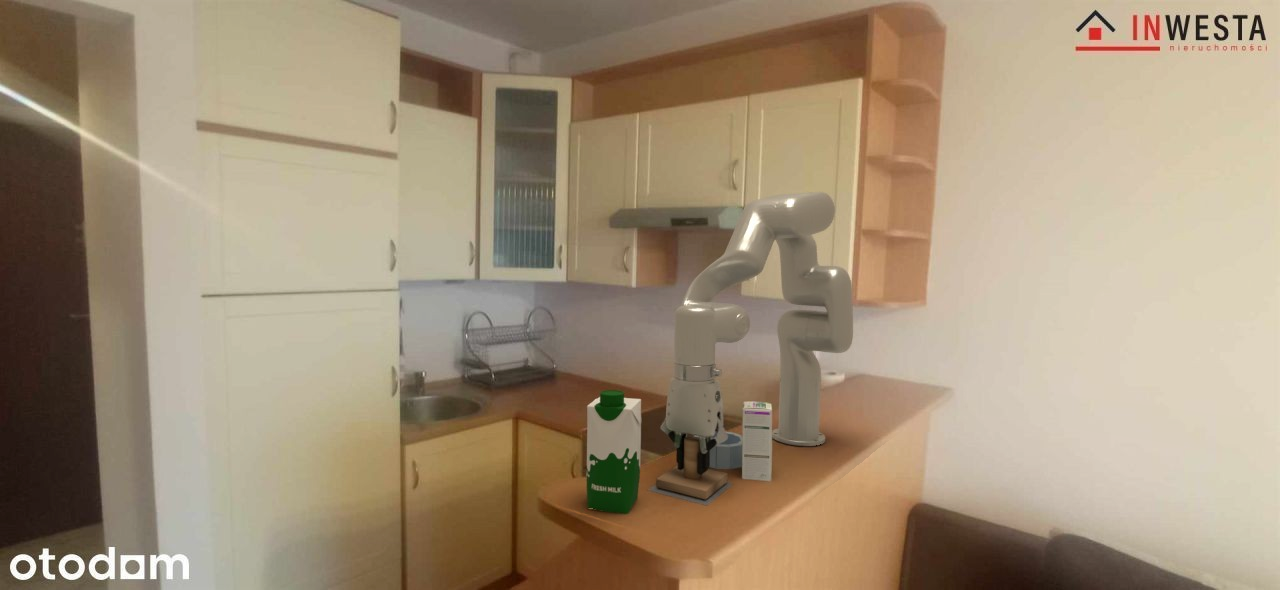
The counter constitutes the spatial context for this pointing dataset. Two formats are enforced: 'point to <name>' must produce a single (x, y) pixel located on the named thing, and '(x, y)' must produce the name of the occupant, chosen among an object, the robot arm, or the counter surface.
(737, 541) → the counter surface
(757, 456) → the syrup box
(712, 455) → the bowl
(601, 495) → the milk carton
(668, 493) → the mat
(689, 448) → the lid
